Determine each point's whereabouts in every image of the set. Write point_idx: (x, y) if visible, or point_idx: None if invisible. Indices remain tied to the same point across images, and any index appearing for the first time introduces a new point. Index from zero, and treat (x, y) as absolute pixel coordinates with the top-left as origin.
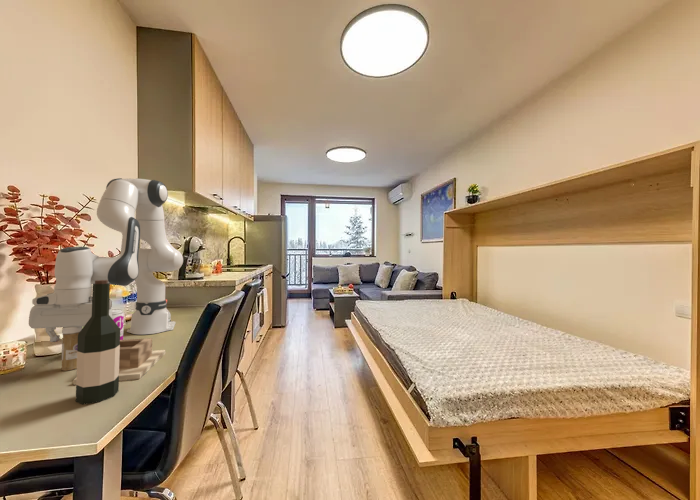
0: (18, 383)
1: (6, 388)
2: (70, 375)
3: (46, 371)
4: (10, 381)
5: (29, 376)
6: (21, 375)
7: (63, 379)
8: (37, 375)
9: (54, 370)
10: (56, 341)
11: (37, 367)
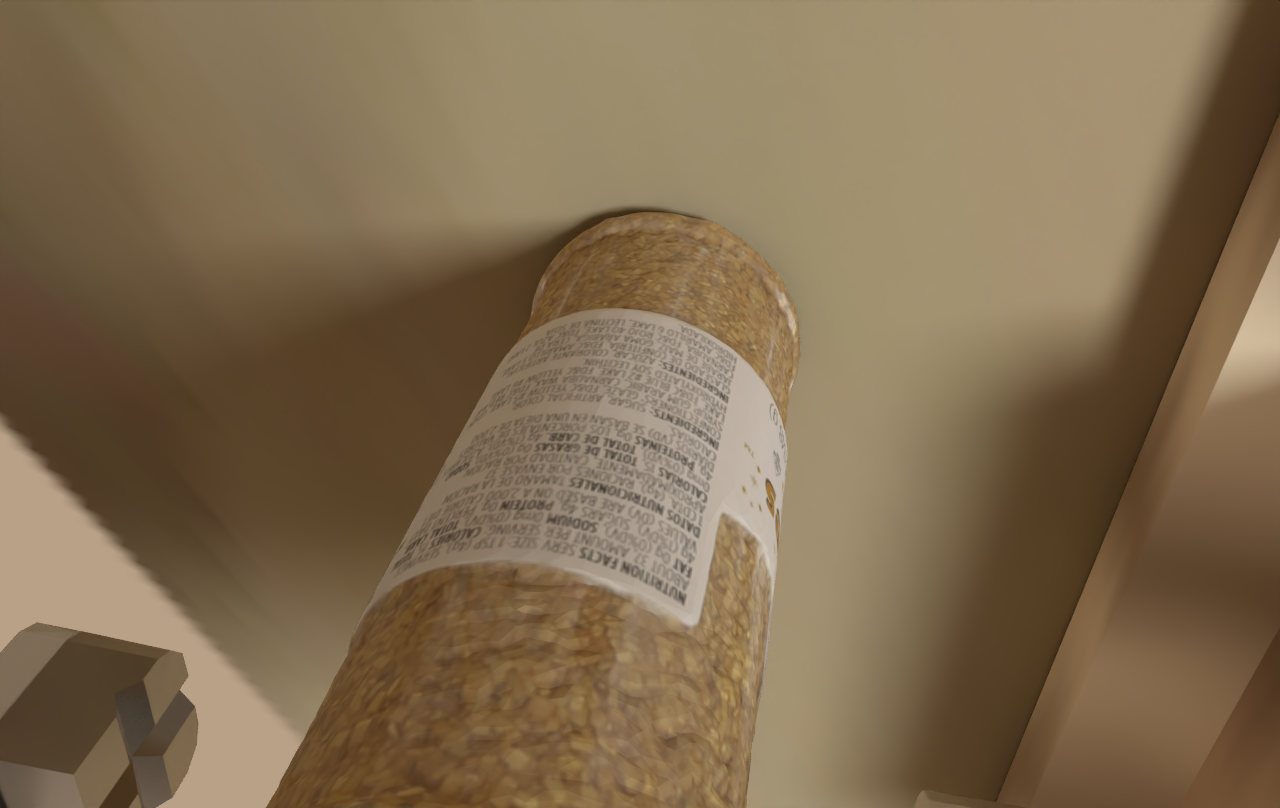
0: (310, 644)
1: (296, 728)
2: (799, 629)
3: (349, 334)
4: (160, 549)
5: (256, 460)
6: (110, 379)
7: (771, 724)
8: (338, 462)
9: (446, 332)
10: (196, 733)
11: (35, 49)
